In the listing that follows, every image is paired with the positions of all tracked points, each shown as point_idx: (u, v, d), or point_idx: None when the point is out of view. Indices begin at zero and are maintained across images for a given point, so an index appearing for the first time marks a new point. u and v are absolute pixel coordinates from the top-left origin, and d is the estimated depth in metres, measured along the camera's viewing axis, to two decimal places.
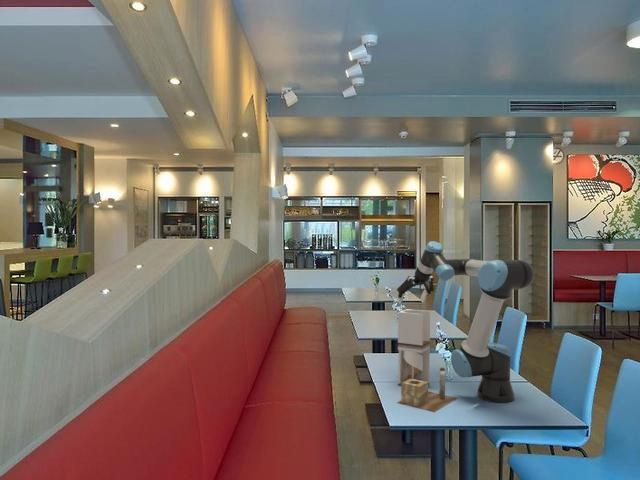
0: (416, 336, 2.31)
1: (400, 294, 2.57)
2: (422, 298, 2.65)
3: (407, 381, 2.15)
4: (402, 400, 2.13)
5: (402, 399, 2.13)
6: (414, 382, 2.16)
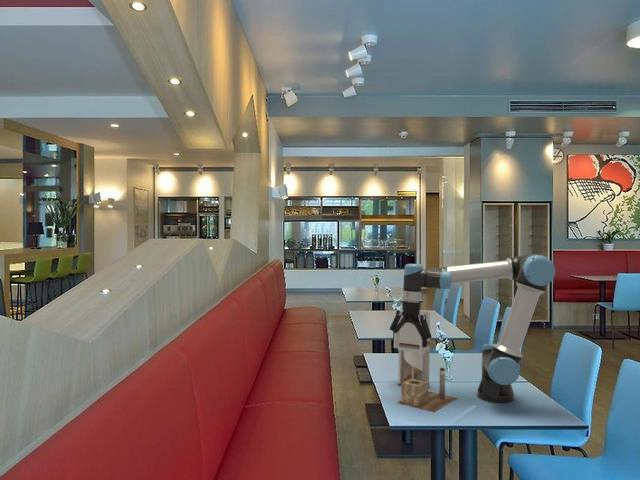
0: (416, 336, 2.31)
1: (426, 340, 2.12)
2: (397, 343, 2.23)
3: (407, 381, 2.15)
4: (402, 400, 2.13)
5: (402, 399, 2.13)
6: (414, 382, 2.16)
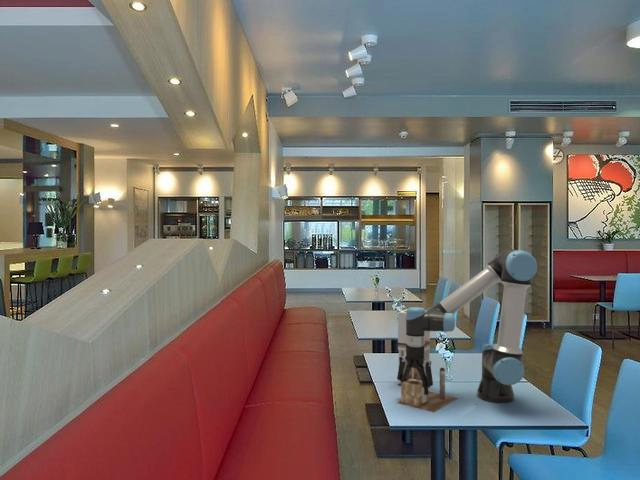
0: None
1: None
2: None
3: (407, 381, 2.15)
4: (402, 400, 2.13)
5: (402, 399, 2.13)
6: (414, 382, 2.16)
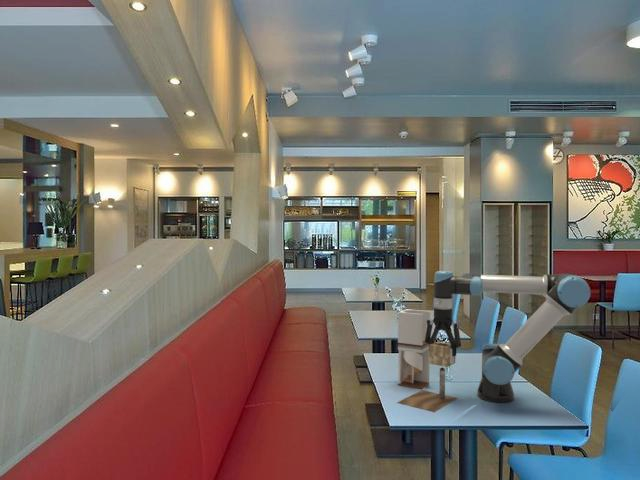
0: (416, 336, 2.31)
1: None
2: None
3: (435, 343, 2.19)
4: (430, 362, 2.17)
5: (430, 361, 2.17)
6: (442, 344, 2.20)
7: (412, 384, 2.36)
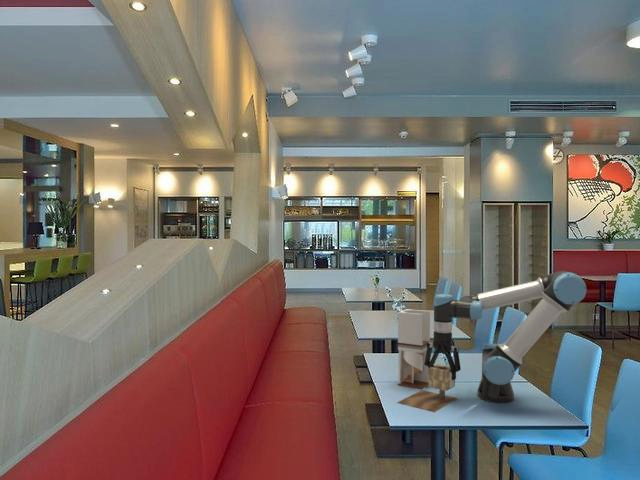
0: (416, 336, 2.31)
1: (455, 373, 2.15)
2: None
3: (434, 366, 2.19)
4: (430, 385, 2.17)
5: (430, 384, 2.17)
6: (441, 367, 2.20)
7: (412, 384, 2.36)
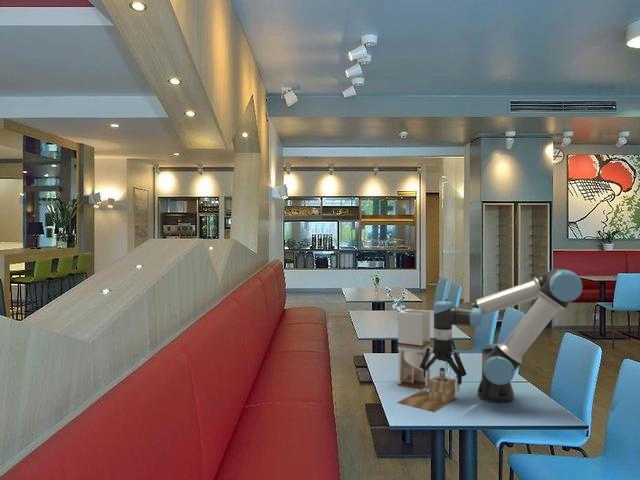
0: (416, 336, 2.31)
1: (461, 377, 2.13)
2: (428, 381, 2.22)
3: (435, 378, 2.20)
4: (430, 397, 2.17)
5: (430, 396, 2.17)
6: None
7: (412, 384, 2.36)
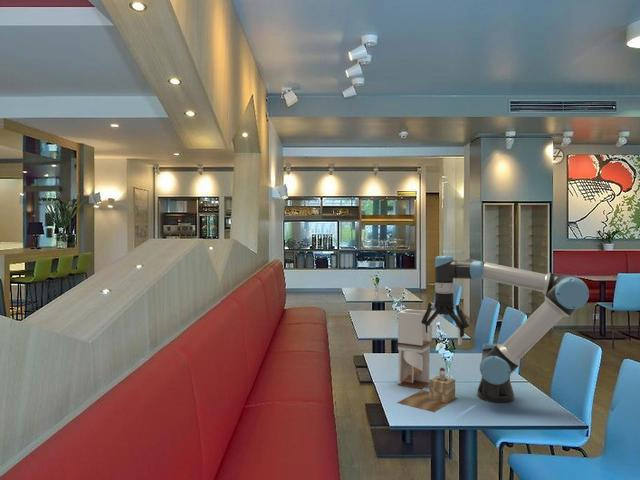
0: (416, 336, 2.31)
1: None
2: (430, 336, 2.23)
3: (435, 378, 2.20)
4: (430, 397, 2.17)
5: (430, 396, 2.17)
6: None
7: (412, 384, 2.36)
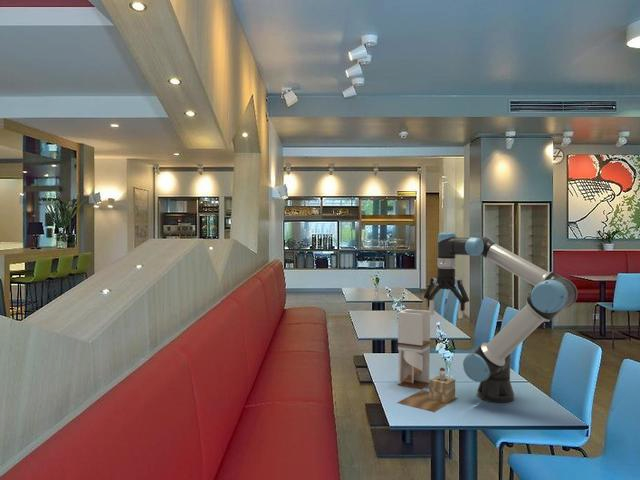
0: (416, 336, 2.31)
1: (464, 304, 2.22)
2: (432, 310, 2.31)
3: (435, 378, 2.20)
4: (430, 397, 2.17)
5: (430, 396, 2.17)
6: None
7: (412, 384, 2.36)
